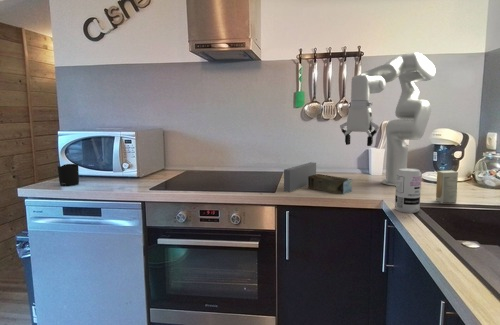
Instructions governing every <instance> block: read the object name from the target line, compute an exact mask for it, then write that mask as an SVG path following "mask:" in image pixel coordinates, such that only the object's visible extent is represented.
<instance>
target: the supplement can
mask: <svg viewBox="0 0 500 325" xmlns="http://www.w3.org/2000/svg"><path fill="white" fill-rule="evenodd" d="M422 175H423V174H422V172H421V170H420V169H419V168H412V167H411V168H410V167H409V168H408V167H407V168H401V169H399V170H398V172H397V175H396V186H395V196H394V198H395V199H394V200H395V201H394V203H395V204H394V208H395V209H396V211H398V212H401V213H405V214H407V213H408V214H415V213H418V212H419V211H420V207H421V189H422Z"/></svg>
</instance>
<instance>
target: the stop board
mask: <svg viewBox="0 0 500 325" xmlns="http://www.w3.org/2000/svg"><path fill="white" fill-rule="evenodd" d="M316 174H317V162H315V161H314V162H312V161H311V162H308V163H303V164H300V165H297V166H291V167H288V168H285V169H283V192H284V193H291V192H294V191H296V190H299V189H302V188H304V187H306V186H308V177H309V176H312V175H316Z"/></svg>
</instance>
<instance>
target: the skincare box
mask: <svg viewBox="0 0 500 325" xmlns="http://www.w3.org/2000/svg"><path fill="white" fill-rule="evenodd" d="M458 178H459V172H458V171H456V170H437V172H436V190H435V191H436V192H435V193H436V194H435V201H436V200H437V202H439V203H441V204H443V203H442V202H449V203H457V197H458V196H457V195H458Z"/></svg>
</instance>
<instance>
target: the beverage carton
mask: <svg viewBox="0 0 500 325" xmlns="http://www.w3.org/2000/svg"><path fill="white" fill-rule="evenodd" d="M307 186H308V189H310V190H311V189H312V190H316V191H322V192H328V193H333V194H340V195H346V194H350V193H352V191H353V179H352V178H348V177H338V176H333V175H328V174H327V175H326V174H321V173H316V175H312V176H309V177H308V185H307Z"/></svg>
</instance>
